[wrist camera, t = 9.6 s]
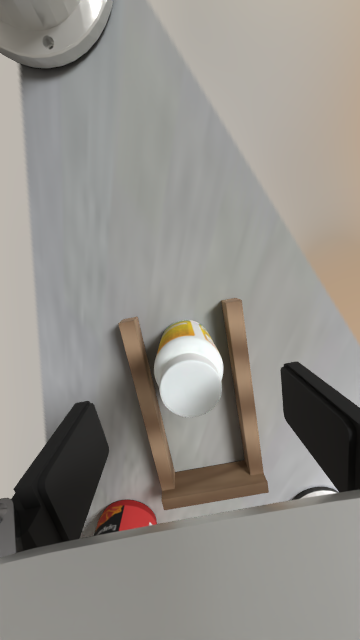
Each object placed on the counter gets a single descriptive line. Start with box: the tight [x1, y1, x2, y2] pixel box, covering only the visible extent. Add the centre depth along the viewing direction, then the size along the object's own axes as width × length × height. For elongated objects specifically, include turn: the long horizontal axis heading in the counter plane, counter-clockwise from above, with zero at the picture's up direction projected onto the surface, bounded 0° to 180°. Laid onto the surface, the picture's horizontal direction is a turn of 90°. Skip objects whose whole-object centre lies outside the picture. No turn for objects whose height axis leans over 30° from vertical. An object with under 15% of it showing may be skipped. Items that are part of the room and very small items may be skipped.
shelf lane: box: [118, 298, 268, 510], centre depth 22 cm, size 22×12×3 cm, turn 11°
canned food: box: [94, 500, 157, 536], centre depth 22 cm, size 8×8×11 cm
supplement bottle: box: [154, 320, 223, 417], centre depth 17 cm, size 5×5×10 cm
